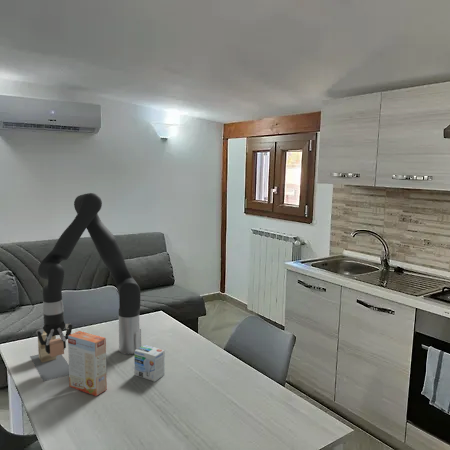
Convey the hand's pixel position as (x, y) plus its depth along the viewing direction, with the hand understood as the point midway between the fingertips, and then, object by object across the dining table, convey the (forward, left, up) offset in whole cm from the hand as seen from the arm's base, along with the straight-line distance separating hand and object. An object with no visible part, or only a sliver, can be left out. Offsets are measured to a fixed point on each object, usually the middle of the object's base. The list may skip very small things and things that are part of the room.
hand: (55, 351), depth 174 cm
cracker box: (-19, +9, -9) cm, 23 cm away
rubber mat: (+5, -5, -9) cm, 11 cm away
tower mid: (+10, -10, -3) cm, 14 cm away
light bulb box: (-38, -6, -9) cm, 39 cm away
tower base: (+10, -10, -9) cm, 16 cm away
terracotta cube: (0, 0, -1) cm, 1 cm away
